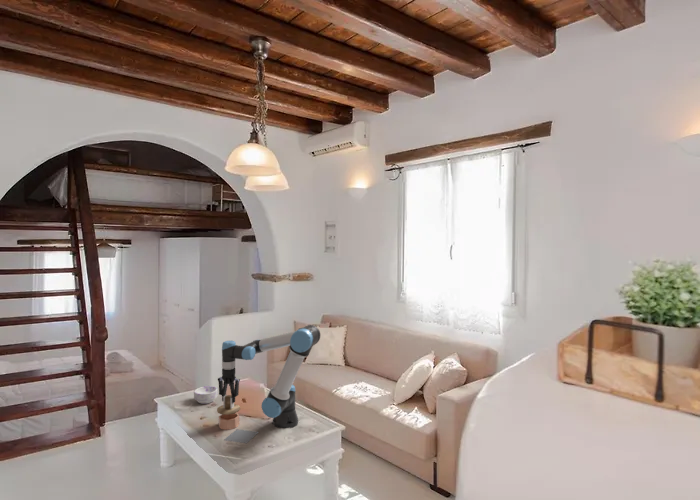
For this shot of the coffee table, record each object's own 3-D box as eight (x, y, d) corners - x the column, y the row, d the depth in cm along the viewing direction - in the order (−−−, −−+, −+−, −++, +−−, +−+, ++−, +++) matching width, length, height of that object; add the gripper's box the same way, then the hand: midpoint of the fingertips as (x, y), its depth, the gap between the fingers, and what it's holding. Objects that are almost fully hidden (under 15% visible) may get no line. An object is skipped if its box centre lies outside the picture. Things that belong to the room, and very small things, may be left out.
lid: (244, 407, 256) (244, 393, 255) (232, 415, 243) (232, 401, 243) (224, 404, 259) (224, 391, 259) (212, 412, 247) (212, 399, 246)
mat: (259, 433, 243) (259, 432, 243) (246, 444, 229) (246, 443, 229) (237, 430, 247) (237, 428, 247) (223, 441, 233) (223, 439, 233)
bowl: (242, 423, 255) (242, 413, 255) (232, 431, 245) (232, 421, 245) (225, 421, 258) (225, 411, 258) (215, 429, 248) (215, 418, 248)
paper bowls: (190, 405, 283) (190, 393, 283) (199, 396, 298) (199, 385, 298) (213, 405, 282) (213, 393, 282) (220, 397, 297) (220, 385, 297)
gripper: (245, 367, 252) (245, 406, 253) (219, 364, 256) (219, 403, 257) (238, 371, 245) (238, 411, 245) (212, 368, 249) (212, 408, 250)
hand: (228, 407), depth 251 cm, fingers closed on lid, 4 cm apart
